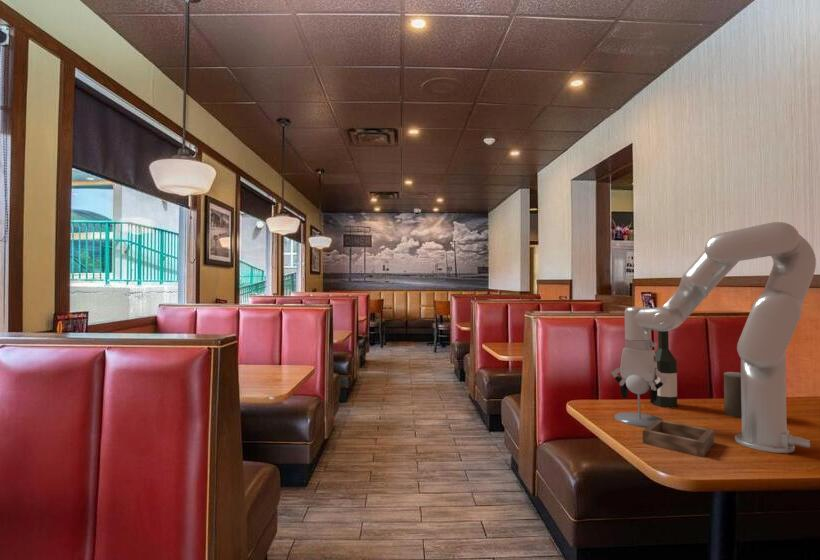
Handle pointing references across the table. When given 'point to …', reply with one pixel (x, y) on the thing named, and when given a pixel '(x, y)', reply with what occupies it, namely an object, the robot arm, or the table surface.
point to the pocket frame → (679, 437)
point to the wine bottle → (666, 373)
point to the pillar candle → (732, 394)
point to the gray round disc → (636, 419)
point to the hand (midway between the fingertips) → (638, 399)
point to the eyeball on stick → (637, 387)
